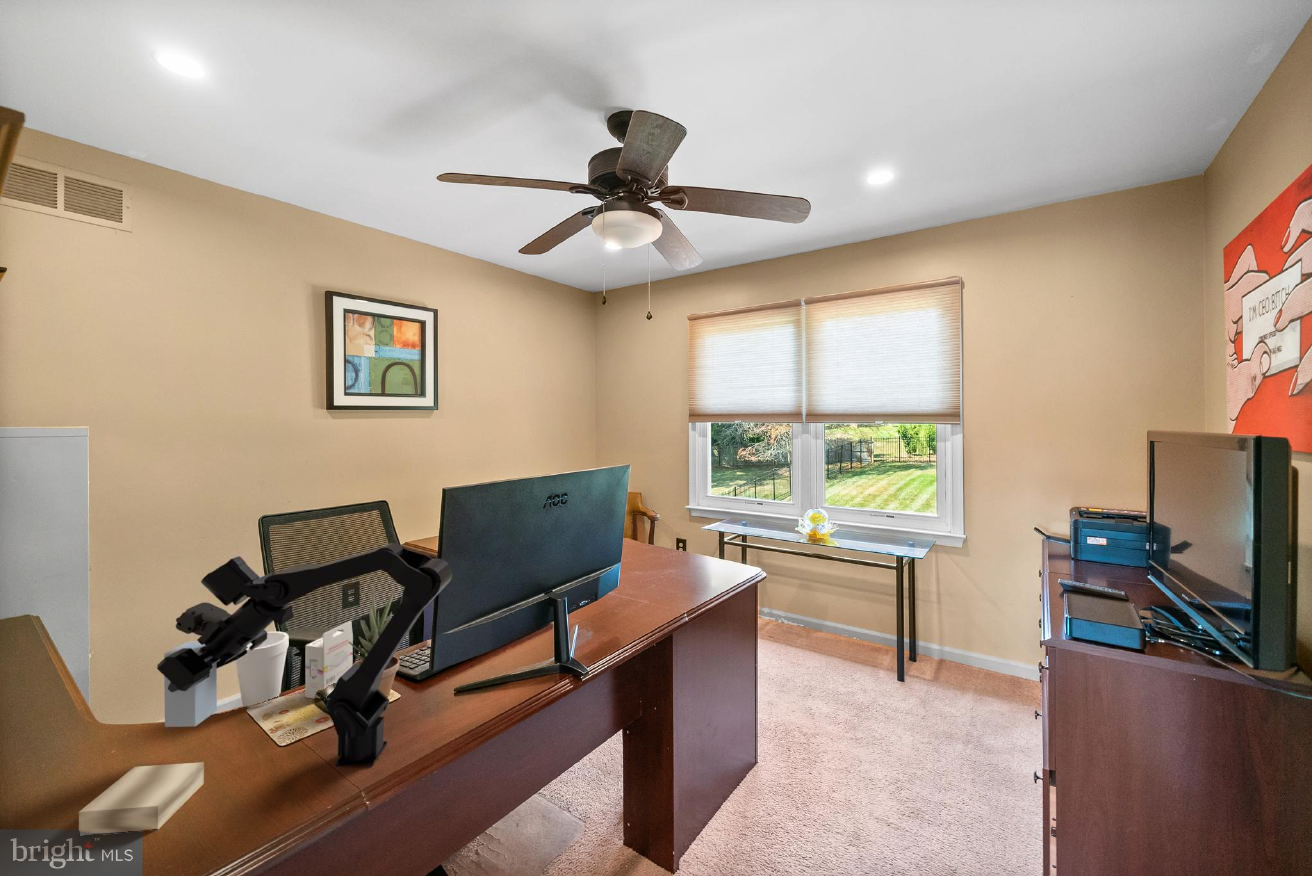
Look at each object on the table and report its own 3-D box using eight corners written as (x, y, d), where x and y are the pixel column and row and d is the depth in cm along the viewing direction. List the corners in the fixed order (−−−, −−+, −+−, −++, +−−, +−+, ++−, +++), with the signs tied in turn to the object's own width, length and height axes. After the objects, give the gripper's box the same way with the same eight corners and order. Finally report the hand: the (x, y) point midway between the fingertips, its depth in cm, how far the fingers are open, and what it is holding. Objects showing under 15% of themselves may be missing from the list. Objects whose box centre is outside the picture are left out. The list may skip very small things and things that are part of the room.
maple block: (203, 785, 88) (203, 762, 88) (157, 831, 78) (158, 805, 78) (134, 790, 86) (134, 766, 86) (78, 838, 76) (79, 811, 76)
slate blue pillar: (216, 710, 97) (216, 641, 96) (195, 726, 92) (195, 653, 92) (187, 710, 97) (187, 641, 96) (164, 726, 92) (164, 653, 91)
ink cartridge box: (334, 679, 123) (335, 617, 123) (353, 681, 122) (354, 619, 122) (303, 697, 115) (304, 631, 114) (322, 700, 114) (324, 634, 113)
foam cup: (296, 687, 119) (297, 631, 118) (272, 710, 110) (273, 648, 109) (249, 689, 117) (250, 632, 117) (222, 712, 108) (223, 650, 108)
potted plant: (396, 681, 123) (398, 577, 122) (401, 700, 115) (403, 589, 114) (346, 691, 118) (348, 583, 117) (348, 712, 110) (350, 596, 109)
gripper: (252, 575, 103) (192, 629, 103) (169, 609, 84) (97, 676, 84) (293, 615, 104) (234, 669, 103) (220, 657, 85) (148, 724, 85)
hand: (183, 682), depth 94 cm, fingers closed on slate blue pillar, 5 cm apart
